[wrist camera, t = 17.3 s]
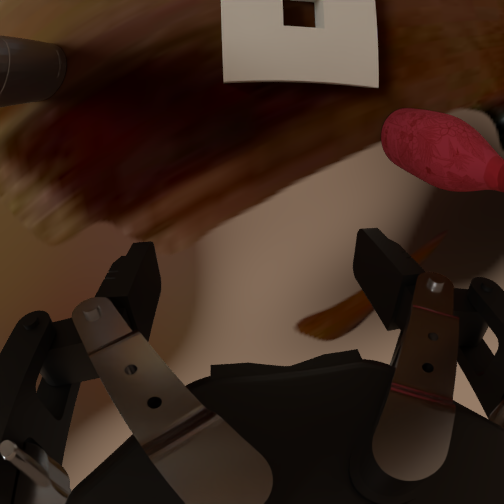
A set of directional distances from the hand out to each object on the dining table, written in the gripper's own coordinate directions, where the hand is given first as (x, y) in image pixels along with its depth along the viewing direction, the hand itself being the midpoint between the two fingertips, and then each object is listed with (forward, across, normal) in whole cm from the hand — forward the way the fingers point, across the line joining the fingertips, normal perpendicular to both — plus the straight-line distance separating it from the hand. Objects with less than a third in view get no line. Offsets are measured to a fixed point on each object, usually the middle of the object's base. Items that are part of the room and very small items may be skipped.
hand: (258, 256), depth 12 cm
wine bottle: (+32, -26, -1) cm, 41 cm away
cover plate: (+32, -9, -18) cm, 38 cm away
